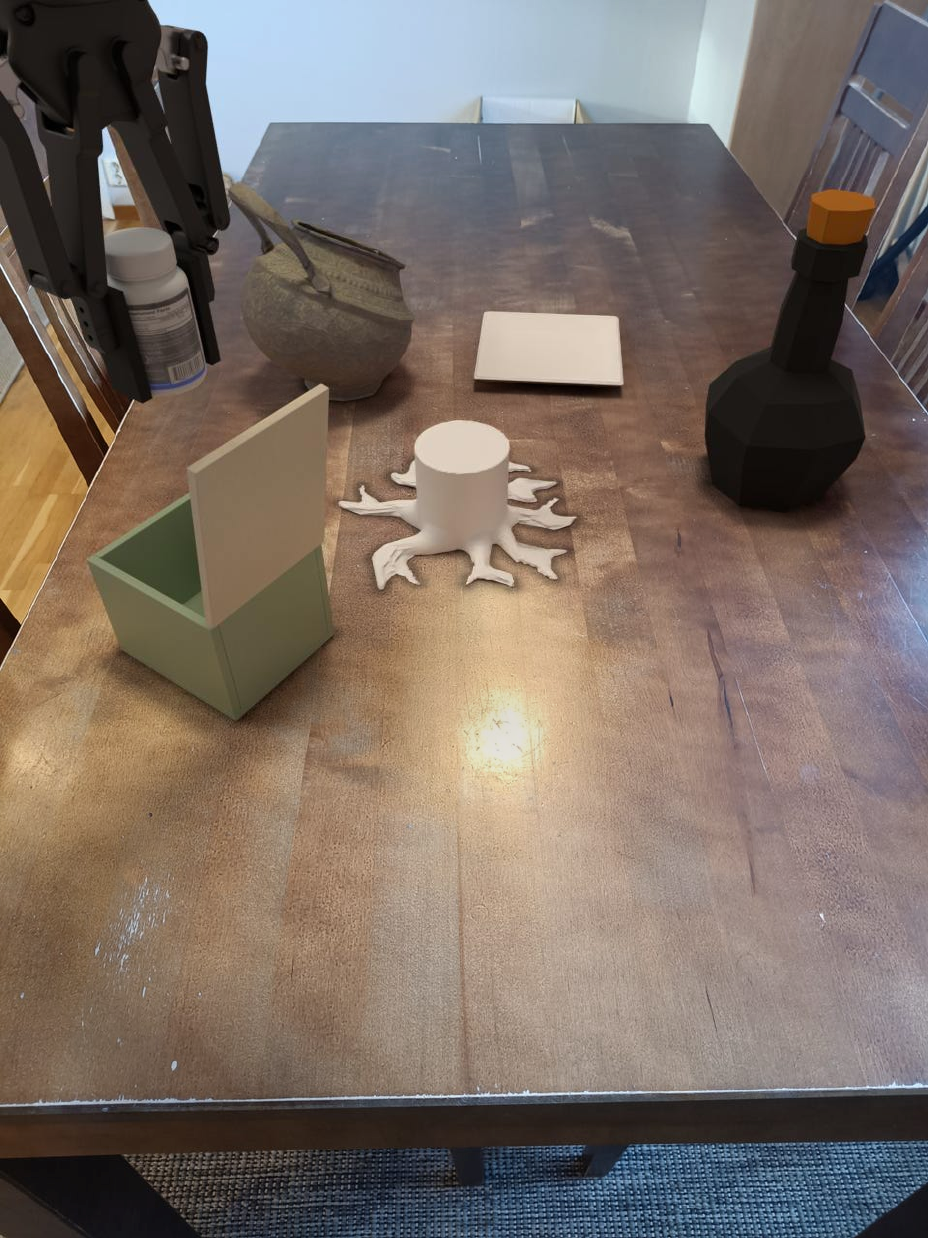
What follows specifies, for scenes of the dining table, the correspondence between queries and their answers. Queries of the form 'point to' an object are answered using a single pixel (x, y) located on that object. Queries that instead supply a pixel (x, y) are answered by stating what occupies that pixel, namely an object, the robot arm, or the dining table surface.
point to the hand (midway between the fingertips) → (167, 374)
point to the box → (175, 619)
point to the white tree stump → (462, 504)
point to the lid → (260, 503)
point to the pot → (323, 303)
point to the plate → (549, 349)
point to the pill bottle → (157, 307)
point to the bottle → (795, 376)
